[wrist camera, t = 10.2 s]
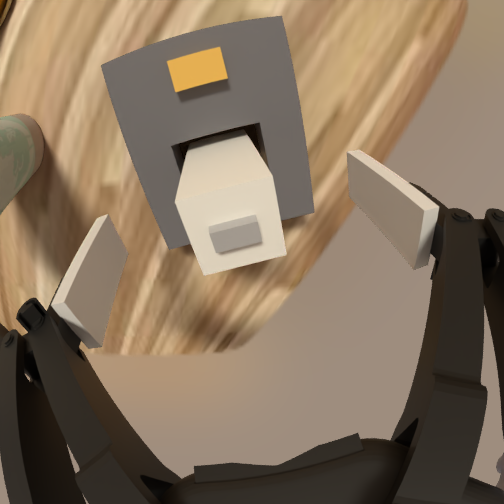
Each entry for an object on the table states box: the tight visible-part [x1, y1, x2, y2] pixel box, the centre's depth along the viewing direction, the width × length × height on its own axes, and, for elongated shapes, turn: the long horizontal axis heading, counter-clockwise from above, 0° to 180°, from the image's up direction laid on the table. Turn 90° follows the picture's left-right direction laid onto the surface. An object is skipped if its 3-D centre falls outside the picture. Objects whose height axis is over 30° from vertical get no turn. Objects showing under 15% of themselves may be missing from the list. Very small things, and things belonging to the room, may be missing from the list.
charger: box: [175, 129, 287, 276], centre depth 16 cm, size 4×4×11 cm
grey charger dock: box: [101, 16, 314, 250], centre depth 17 cm, size 11×14×4 cm
